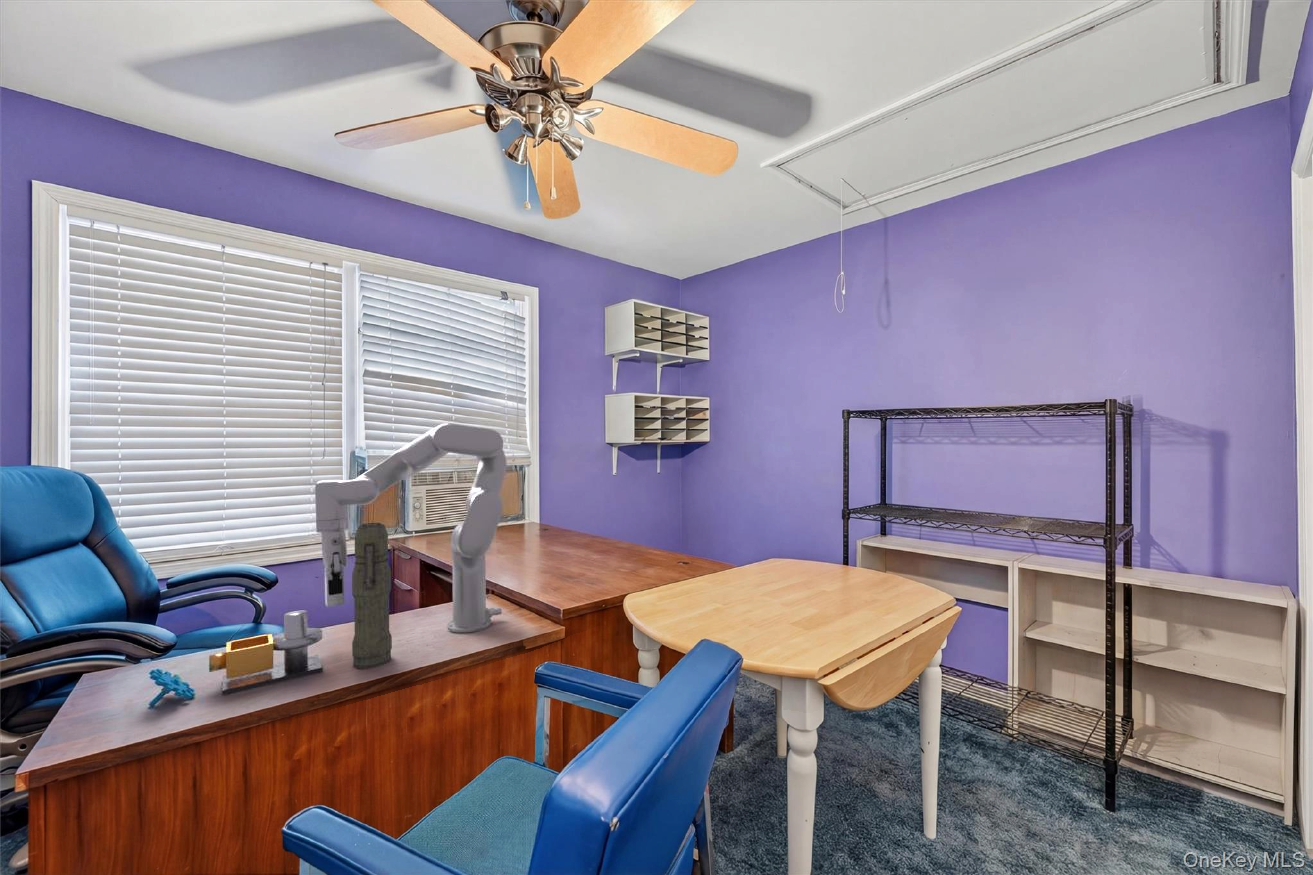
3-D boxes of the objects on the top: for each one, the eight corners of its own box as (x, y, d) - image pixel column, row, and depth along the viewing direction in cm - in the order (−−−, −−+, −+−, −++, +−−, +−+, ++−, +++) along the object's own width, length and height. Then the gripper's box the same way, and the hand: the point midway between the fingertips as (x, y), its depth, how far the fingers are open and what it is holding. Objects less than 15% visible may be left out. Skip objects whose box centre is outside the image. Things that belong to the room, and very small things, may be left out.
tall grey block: (342, 600, 147) (341, 564, 147) (344, 603, 144) (343, 567, 144) (325, 603, 144) (324, 567, 144) (327, 607, 141) (326, 569, 141)
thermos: (390, 649, 142) (389, 520, 143) (393, 665, 132) (392, 525, 133) (352, 656, 138) (351, 522, 139) (352, 673, 128) (351, 528, 128)
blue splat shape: (194, 697, 113) (150, 671, 110) (167, 724, 110) (121, 698, 107) (202, 685, 122) (162, 661, 119) (178, 710, 119) (136, 685, 116)
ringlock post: (319, 657, 138) (319, 603, 138) (325, 671, 129) (324, 614, 129) (210, 681, 124) (210, 622, 125) (208, 699, 116) (208, 635, 116)
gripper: (353, 526, 140) (355, 595, 140) (343, 520, 153) (345, 583, 153) (320, 530, 135) (322, 602, 135) (312, 523, 148) (314, 588, 148)
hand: (334, 591), depth 144 cm, fingers closed on tall grey block, 3 cm apart
